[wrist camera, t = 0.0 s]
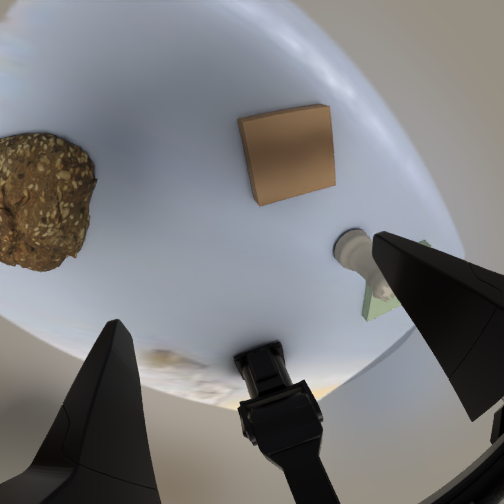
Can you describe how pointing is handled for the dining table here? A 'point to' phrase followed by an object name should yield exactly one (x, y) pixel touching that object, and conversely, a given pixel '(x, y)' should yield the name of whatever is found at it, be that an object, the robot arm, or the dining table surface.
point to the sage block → (379, 301)
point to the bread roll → (43, 200)
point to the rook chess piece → (362, 262)
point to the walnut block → (289, 152)
